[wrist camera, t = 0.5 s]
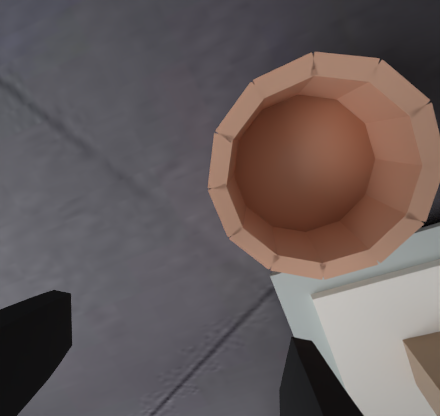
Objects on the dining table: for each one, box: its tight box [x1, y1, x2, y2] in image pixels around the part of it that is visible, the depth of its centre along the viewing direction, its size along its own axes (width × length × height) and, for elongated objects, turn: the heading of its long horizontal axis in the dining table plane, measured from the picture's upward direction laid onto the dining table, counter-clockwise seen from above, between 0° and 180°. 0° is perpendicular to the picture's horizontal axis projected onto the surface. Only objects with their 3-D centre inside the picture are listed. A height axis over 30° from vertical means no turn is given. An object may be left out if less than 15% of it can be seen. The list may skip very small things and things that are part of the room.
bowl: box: [208, 52, 440, 280], centre depth 13 cm, size 9×9×5 cm
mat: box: [270, 222, 440, 390], centre depth 17 cm, size 16×16×1 cm
